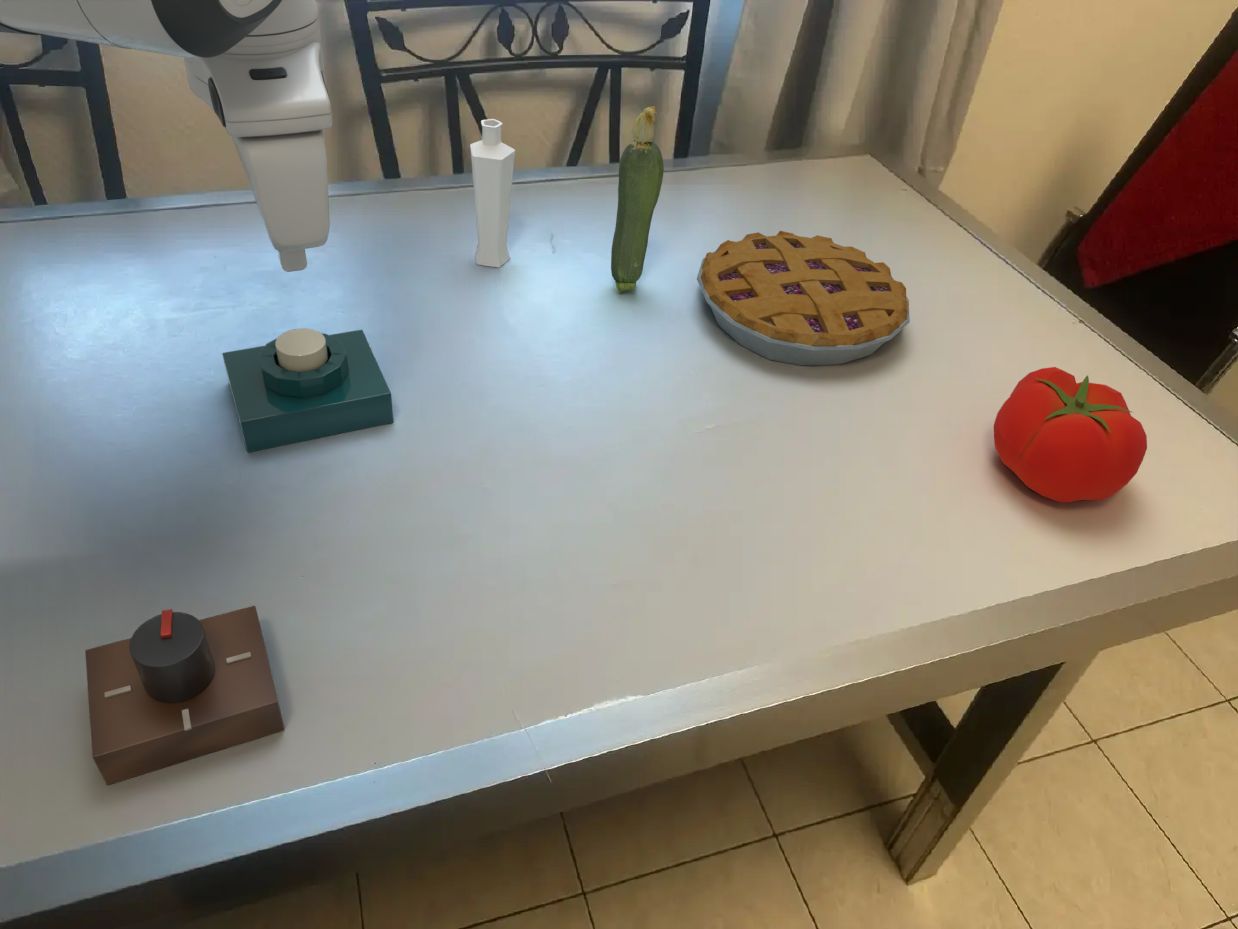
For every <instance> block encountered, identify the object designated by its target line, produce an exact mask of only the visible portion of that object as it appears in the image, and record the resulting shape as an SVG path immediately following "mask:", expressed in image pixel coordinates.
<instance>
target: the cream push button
mask: <svg viewBox="0 0 1238 929" xmlns="http://www.w3.org/2000/svg"><path fill="white" fill-rule="evenodd" d="M276 339H277V340H276V342H275V347H276V352H277V358H278V363H279V364H280V366H281V367H282V368H284V369H286V370H289V371H297V372H302V371H308V370H313V369H317V368H319V367H320V366H322V365H324V364H325V363H326V361H327V359H328V353H327V346H326V339H325V337H324V336H323V334H321V332H320V331H319V330H316V329H312V328H306V327H305V328H302V327H301V328H294V329H290V330H287V331H284V332H283V333H281V334H280V335H279V336H277V338H276Z"/></svg>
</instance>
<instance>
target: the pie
mask: <svg viewBox="0 0 1238 929" xmlns="http://www.w3.org/2000/svg"><path fill="white" fill-rule="evenodd" d="M696 281H697V283H698V286H699V287H700V290H701V292H702V295H703V296H704V299H705V301H706V303H707V304H708V305H709V307H710V309H711V312H712V314H713V316H714V319H715V320H716V323H717V325H718V327H720V328H721V329H722V330H723V331H724V332H725V333H726V334H727V335H729V336H730V337H731V338H732V339H733V340H734V341H735V342H736V343H737V344H739V345H740V346H741V347H743V348H745V349H747V350H749V351H751V352H752V353H754V354H757V355H759V356H761V357H762V358H765V359H766V360H769V361H775V362H781V363H787V364H792V365H798V366H826V365H828V366H830V365H831V366H833V365H842V364H846V363H849V362H853V361H856V360H858V359H861V358H865V357H869V356H871V355H872V354H873V353H875V352H876V351H877V350H879V349H880V348H881V346H883V345H884V344H885V343H886V342H888V341H890V340H893V339H894V337H895V336H896V335H898V334H899V333H900V332H901V331H902V330H903V329H904V328H905V327H907V326H908V325H909V324H910V321H911V320H910V300H909V298H908V296H907V287H906V286H905V285H904V283H903V282H902V281H898V280H895V279H894V278H893V276H892V272H891V268H890V267H889V266H888V265H887V264H886V263H885V262H882V261H881V262H874V261H873V260H871V259H870V258H868V257H867V254H866V252H865V251H862V250H861V249H858V248H856V247H853V246H843V245H840V244H837V243H835V242H834V241H833V239H832V238H831V237H827V236H823V235H818V234H817V235H815V236H811V237H809V236H799V235H797V234H794V232H788V231H783V230H779V231H778V233H777V234H775V235H764V234H762V233H760V232H758V231H757V232H753V233H749V234H746V235H745V236H744V237H743V239H742V240H738V241H734V240H729V239H727V240H725V241H724V242H721V243H720V244H719V246H717V248H716V250H714V251H713V252H711V251H710V252H706V254H705V257H703V258H702V260H701V263H700V267H699V270H698V272H697V276H696Z"/></svg>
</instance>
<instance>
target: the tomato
mask: <svg viewBox="0 0 1238 929" xmlns="http://www.w3.org/2000/svg"><path fill="white" fill-rule="evenodd" d="M1131 413H1133V411H1131V410H1129V407H1128V404H1127V402H1126V400H1125V398H1124V396H1123V394H1122V392H1120V391H1118V390H1116V389H1115V388H1112V387H1111V386H1109V385H1107V384H1103V383H1096V382H1090V380H1089V375H1085V378H1083V379H1082V381H1080V382H1077V381H1076V377H1075V375H1073V374H1071V373H1069V372H1067V371H1065V370H1063V369H1062V368H1059V367H1056V366H1051V367H1043V368H1040V369H1037V370H1034V371H1031V372H1028V373H1027V374H1026V375H1025V376H1024V377H1022V378H1021V379H1020V380H1019V381H1018V382H1017V384H1016V386H1015V387H1014V388H1013V390H1012V391H1011V393H1010V395H1009V397H1008V398H1007V399H1006V400H1005V401H1004V403H1003V404H1002V405H1001V407H1000V408H999V410H998V412H997V413H996V416H995V420H994V423H993V441H994V449H995V450H996V453H997V454H998V456H999V459H1000V461H1002V464H1003V465H1005V466H1006V467H1007V468H1008V469H1010V470H1011V472H1013V473H1014V474H1015V475H1016V476H1017V477H1018V478H1019V480H1021V481H1022V483H1023V484H1024V485H1025V486H1026V487H1027V488H1029V489H1031V490H1032V491H1034V492H1036V493H1037V494H1039V495H1040V496H1042V497H1044V498H1046V499H1047V498H1048V499H1050V500H1052V501H1055V502H1058V503H1060V504H1061V503H1070V502H1077V501H1083V500H1087V501H1104V500H1106V499H1108V498H1110V497H1112V496H1115V494H1117V493H1118V492H1119V491H1120V490H1122V489H1124V488H1125V486H1127V485H1128V484H1129V482H1130V481H1131V480H1132V479H1133V478H1134V477H1135V476H1136V474H1138V471H1139V469H1140V467H1141V466H1142V463H1143V461H1144V459H1145V455H1146V453H1147V450H1148V437H1147V436H1148V435H1147V433H1146V431H1145V429H1144V426H1143V424H1142V422H1140V421H1139V420H1138V419H1136V418H1135V417H1134V416H1132V414H1131Z"/></svg>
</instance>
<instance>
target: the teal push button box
mask: <svg viewBox="0 0 1238 929" xmlns="http://www.w3.org/2000/svg"><path fill="white" fill-rule="evenodd" d="M320 333H321V332H320ZM321 334H323V336H324V337H325V339H326V346H327V353H328V359H327V361H326V363H325V364H324V365H322V366H320V367H319V368H317V369H313V370H308V371H302V372H297V371H289V370H286V369H284V368H282V367H281V366H280V364H279V363H278V358H277V352H276V347H275V342H276V340H277V338H275V339H272V340H271V341H269V342H267V343H265V345H261V346H255V347H250V348H249V347H248V348H244V349H237V350H231V351H225V352H222V353H221V355H222V359H223V364H224V367H225V372H226V377H227V381H228V385H229V389H230V393H231V396H232V400H233V404H234V407H235V412H236V415H237V419H238V423H239V426H240V430H241V434H242V438H243V441H244V446H245V449H246V452H247V453H251V452H256V451H261V450H266V449H271V448H275V447H276V448H277V447H280V446H285V445H290V444H295V443H301V442H306V441H310V440H314V439H315V440H316V439H319V438H325V437H329V436H333V435H334V436H335V435H339V434H344V433H349V432H353V431H358V430H359V431H360V430H363V429H369V428H372V427H377V426H382V425H383V426H384V425H388V424H392V423H395V422H394V411H393V400H392V392H391V390H390V387H389V386H388V384H387V383H388V382H387V381H386V379H385V376H384V374H383V372H382V370H381V368H380V366H379V364H378V361H377V360H376V356H375V355H374V353H373V350H372V348H371V346H370V343H369V342H368V339H367V337H366V335H365V333H364V330H363V329H356V330H351V331H345V332H339V333H333V334H332V333H331V334H328V333H323V332H322V333H321Z"/></svg>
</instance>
